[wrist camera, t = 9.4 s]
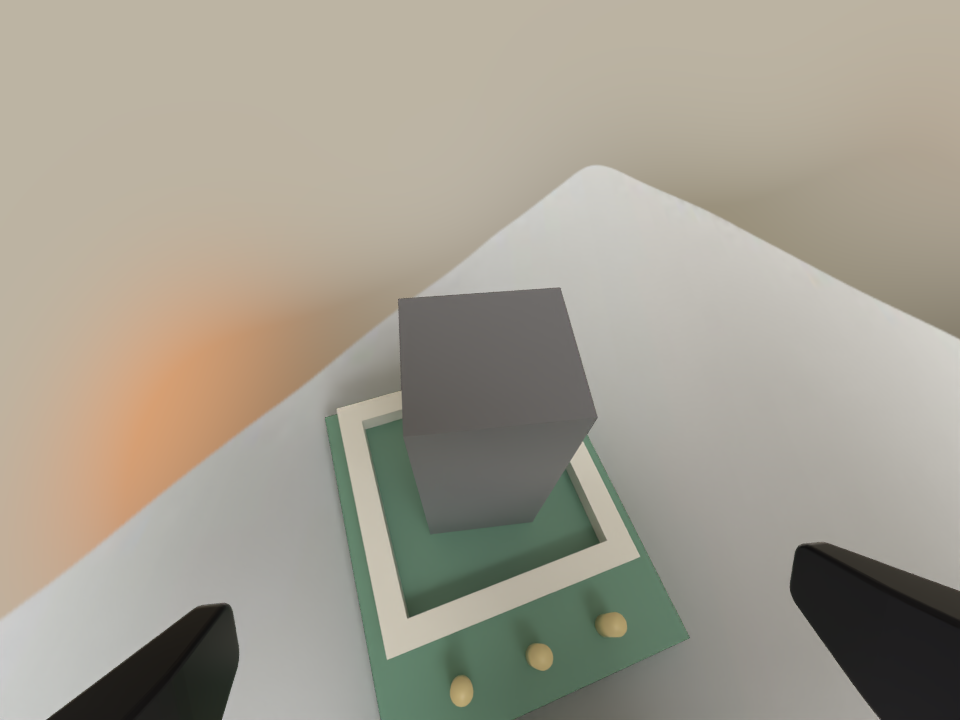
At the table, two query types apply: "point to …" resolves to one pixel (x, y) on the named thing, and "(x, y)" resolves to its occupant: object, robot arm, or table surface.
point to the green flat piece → (490, 585)
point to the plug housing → (490, 403)
